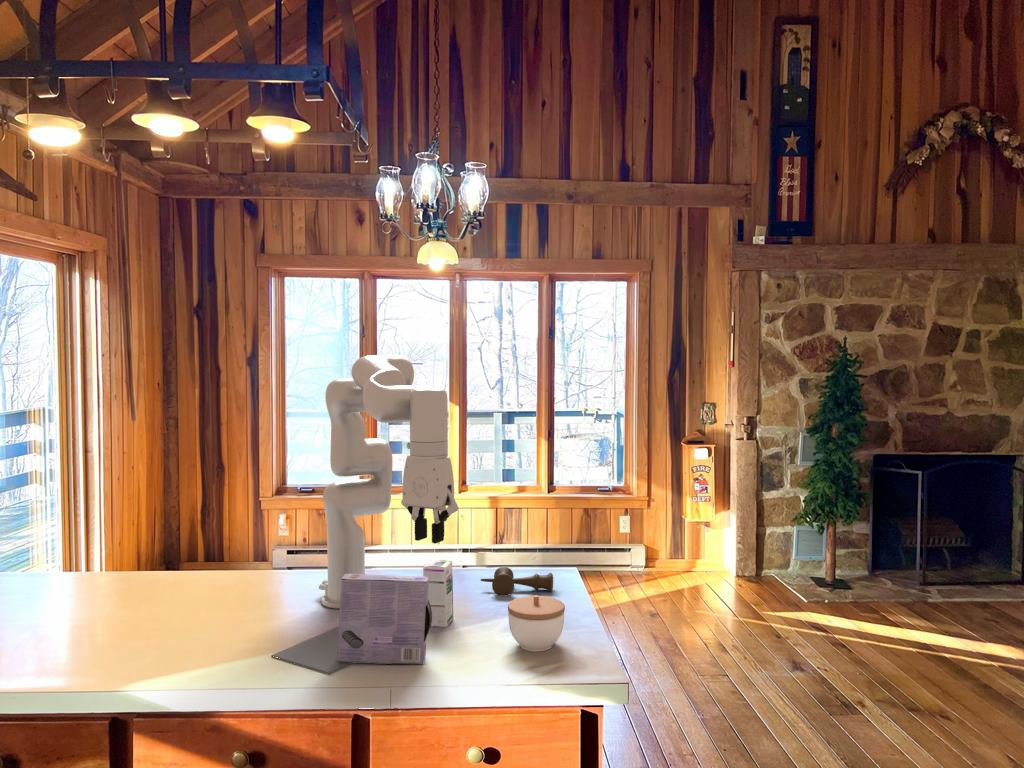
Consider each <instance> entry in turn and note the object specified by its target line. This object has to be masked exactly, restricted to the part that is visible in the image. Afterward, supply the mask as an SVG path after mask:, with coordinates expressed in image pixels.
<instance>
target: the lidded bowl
mask: <svg viewBox="0 0 1024 768" xmlns="http://www.w3.org/2000/svg"><path fill="white" fill-rule="evenodd" d="M565 606H566V605H565V603H564V602H562V601H561V600H560V599H557V598H555V597H550V596H544V595H543V596H541V595H537V594H536V595H528V596H521V597H517V598H515V599H512V600H511V601H510V602H509V603H508V604H507V612H508V614H507V615H508V616H507V617H508V625H509V630H510V633H511V635H512V637H513V639H514V641H515V642H517V644H519V646H521V647H522V648H521V647H520V648H521V649H523V650H525V651H529V652H544V651H545V652H546V651H548V650H550V649H552V648H553V645H554V644H555V643H557V641H558V640H559V639H560V637H561V635H562V632H563V629H564V623H565V610H566V607H565Z"/></svg>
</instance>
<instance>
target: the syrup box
mask: <svg viewBox="0 0 1024 768" xmlns="http://www.w3.org/2000/svg"><path fill="white" fill-rule="evenodd" d="M422 577H429V587H428V600H429V603H430V606H431V610H432V622H431V626H430V627H433V626H441V627H440V628H447V627H448V626H449V625H450V623H451V622H452V621H453V620H454V589H453V588H454V587H453V586H454V585H453V584H454V581H453V580H454V579H453V577H454V576H453V561H452V560H446V559H445V560H444V559H435V560H430V561H429V562H428V563H426V564H425V565H424V566H423V567H422Z"/></svg>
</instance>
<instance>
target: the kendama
mask: <svg viewBox="0 0 1024 768" xmlns="http://www.w3.org/2000/svg"><path fill="white" fill-rule="evenodd" d="M514 577H515V576H514V571H513V570H512V568H510V567H507V566H500V567H498V568H496V570H495V572H494V575H493V578H481V579H480V581H481V582H486V583H492V584H491V586H492V587H491V588H492V591H493V592H494V594H496V595H497V596H500V595H507V596H509V595H511V594H512V592H514V588H515V585H520V586H526V587H530V588H533V589H534V590H535V591H537V590H539V589H542V590H547V591H548V592H550V593H551V592H552V591H553V588H554V575H553V573H552V572H548V573H547V574H544V575H543V574H542V575H540V574H538V573H535V574H534V575H531V576H524V577H516V578H514Z"/></svg>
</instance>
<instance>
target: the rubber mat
mask: <svg viewBox="0 0 1024 768" xmlns="http://www.w3.org/2000/svg"><path fill="white" fill-rule="evenodd" d="M338 632H339V625H338V626H336V627H334V628H332V629H329V630H326V631H324V632H322V633H320V634H317V635H315V636H313V637H311V638H308V639H306V640H303V641H302V642H298V643H296V644H294V645H291V646H290V647H287V648H285V649H282V650H280V651H277V652H276V653H273V654H271V657H272V656H274V657H278V658H280V659H283V660H285V661H284V662H287V661H288V662H287V663H290V662H291V663H290V664H293V663H295V664H294V665H296V664H298V665H297V666H300V667H303V666H304V668H306V667H307V668H306V669H309V670H312V671H313V670H314V671H316V672H319V673H323V674H326V675H332V674H333V673H336V672H338V671H339V670H341V669H343V668H346V667H347V666H349V665H351V664H353V663H355V662H338V660H337V651H338ZM280 659H279V660H280ZM283 660H282V661H283Z"/></svg>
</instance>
